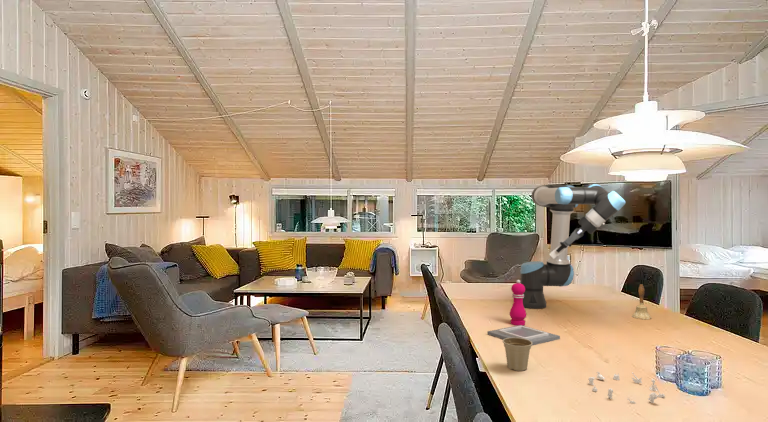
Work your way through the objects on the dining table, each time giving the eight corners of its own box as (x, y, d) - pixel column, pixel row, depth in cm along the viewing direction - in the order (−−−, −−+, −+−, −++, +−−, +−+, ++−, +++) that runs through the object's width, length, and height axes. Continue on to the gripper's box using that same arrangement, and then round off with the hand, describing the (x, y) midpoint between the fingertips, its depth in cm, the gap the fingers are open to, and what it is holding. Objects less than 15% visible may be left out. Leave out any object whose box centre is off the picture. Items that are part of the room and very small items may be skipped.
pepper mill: (524, 322, 212) (524, 278, 212) (527, 326, 205) (528, 281, 205) (508, 321, 213) (508, 278, 213) (511, 325, 206) (511, 280, 206)
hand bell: (632, 318, 222) (633, 285, 222) (630, 314, 230) (631, 282, 229) (652, 320, 219) (653, 286, 219) (650, 316, 226) (650, 283, 226)
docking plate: (487, 334, 192) (487, 329, 192) (520, 327, 203) (520, 323, 203) (526, 346, 175) (526, 341, 175) (559, 338, 186) (560, 333, 186)
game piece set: (681, 405, 125) (681, 390, 125) (609, 407, 124) (610, 392, 124) (636, 378, 144) (636, 366, 144) (574, 379, 143) (574, 367, 143)
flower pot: (516, 374, 146) (516, 347, 145) (496, 365, 154) (496, 339, 154) (538, 370, 150) (538, 343, 150) (517, 361, 158) (517, 336, 158)
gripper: (596, 229, 185) (556, 264, 192) (599, 227, 208) (563, 258, 215) (582, 215, 188) (543, 251, 195) (586, 215, 210) (551, 246, 217)
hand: (553, 255), depth 205 cm, fingers open, 13 cm apart
